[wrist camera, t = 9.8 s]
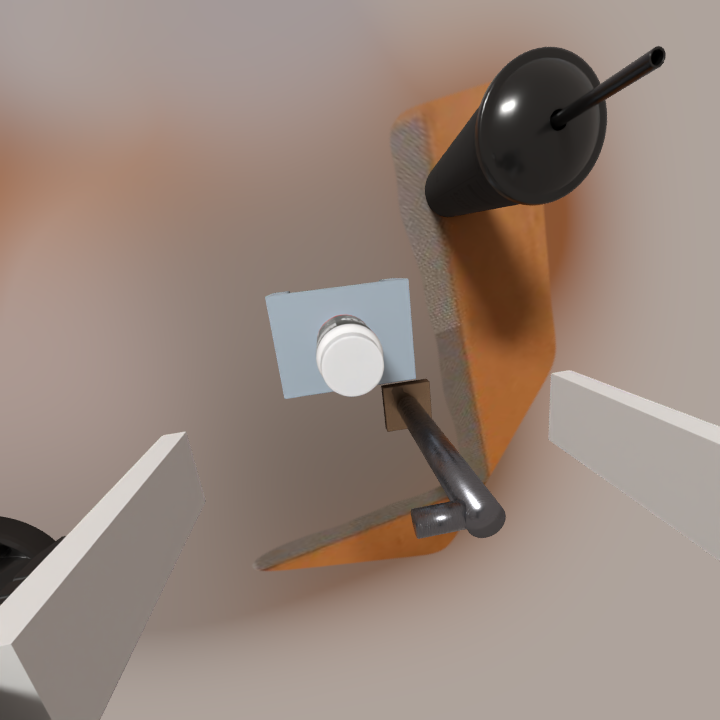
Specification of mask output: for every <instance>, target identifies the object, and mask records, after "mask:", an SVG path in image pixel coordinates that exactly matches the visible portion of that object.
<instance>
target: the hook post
mask: <svg viewBox="0 0 720 720" xmlns="http://www.w3.org/2000/svg"><path fill="white" fill-rule="evenodd" d="M381 387H382V396H383V406H384V414H385V425H386V429H387V431H388V432H390V431H395V430H402V429H409V431H410V433H411V434H412V436H413V438H414V440H415V441H416V443H417V445H418V446H419V448H420V450H421V452H422V453H423V455H424V457H425V459H426V460H427V462H428V463H429V465H430V467H431V469H432V470H433V472H434V474H435V476H436V477H437V479H438V481H439V482H440V484H441V486H442V487H443V489H444V491H445V493H446V494H447V496H448V498H449V499H450V501H451V502H446V503H440V504H435V505H430V506H425V507H419V508H414V509H411V517H412V523H413V527H414V531H415V534H416V536H417V538H418V539H419V538H424V537H429V536H434V535H439V534H445V533H450V532H455V531H460V530H464V529H467V530H468V531H469V533H470V534H471V535H473V536H475V537H478V538H486V537H489V536H492V535H494V534H495V533H497V532H498V531H499V530H500V529H501V528H502V526H503V525H504V522H505V517H506V516H505V511H504V510H503V508H502V507H501V505H500V504H499V503H498V502H497V500H496V499H495V498H494V497H493V495H492V494H491V493H490V492H489V490H488V489H487V488H486V486H485V485H484V484H483V483H482V481H481V480H480V479H479V478H478V476H477V475H476V474H475V473H474V471H473V470H472V469H471V468H470V466H469V465H468V464H467V462H466V461H465V460H464V459H463V457H462V456H461V455H460V454H459V452H458V451H457V450H456V449H455V447H454V446H453V445H452V444H451V442H450V441H449V440H448V438H447V437H446V436H445V435H444V433H443V432H442V431H441V430H440V428H439V427H438V426H437V425H436V423H435V422H434V421H433V420H432V415H431V400H430V383H429V381H428V380H427V379H421V380H416V381H408V382H402V383H395V384H389V385H383V386H381Z"/></svg>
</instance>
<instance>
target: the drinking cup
mask: <svg viewBox="0 0 720 720" xmlns="http://www.w3.org/2000/svg"><path fill="white" fill-rule="evenodd" d="M664 60H665V51H664V49H663V48H662V47H660V46H658V47H655V48H653V49H652V50H650V51H649V52H647V53H646V54H644V55H643V56H641V57H640V58H638V59H637V60H635V61H634V62H632V63H631V64H629V65H628V66H626V67H625V68H623V69H622V70H621V71H619V72H618V73H616V74H615V75H613V76H612V77H610V78H609V79H607V80H606V81H604V82H603V83H601V84H600V82H599V80H598V78H597V76H596V74H595V73H594V71H593V70H592V68H591V67H590V66H589V65H588V64H587V63H586V62H585V61H584V60H583V59H582V58H580V57H579V56H578V55H576V54H574V53H573V52H570V51H568V50H565V49H562V48H557V47H543V48H537V49H533V50H530V51H528V52H525V53H523V54H521V55H519V56H518V57H516V58H515V59H513V60H512V61H511V62H509V63H508V64H507V65H506V66H505V67H504V68H503V69H502V70H501V71H500V72H499V73H498V74H497V76H496V77H495V78H494V79H493V81H492V82H491V84H490V85H489V87H488V89H487V91H486V92H485V94H484V97H483V99H482V101H481V104H480V106H479V108H478V109H477V110H476V112H475V113H474V114H473V116H472V117H471V118H470V120H469V121H468V122H467V124H466V125H465V127H464V128H463V129H462V131H461V132H460V133H459V135H458V136H457V137H456V139H455V140H454V141H453V143H452V144H451V145H450V147H449V148H448V149H447V151H446V152H445V154H444V155H443V156H442V158H441V159H440V160H439V162H438V163H437V164H436V166H435V167H434V168H433V170H432V171H431V172H430V174H429V176H428V178H427V181H426V185H425V195H426V199H427V202H428V204H429V206H430V207H431V209H432V210H433V211H434V212H435V213H437V214H439V215H441V216H444V217H453V216H458V215H464V214H469V213H474V212H480V211H485V210H491V209H496V208H501V207H507V206H512V205H518V204H522V205H542V204H546V203H549V202H553V201H556V200H558V199H560V198H562V197H564V196H566V195H567V194H569V193H570V192H572V191H573V190H574V189H575V188H576V187H577V186H578V185H580V184H581V182H582V181H583V180H584V179H585V178H586V177H587V175H588V174H589V172H590V171H591V170H592V168H593V166H594V165H595V163H596V161H597V159H598V157H599V154H600V152H601V149H602V146H603V142H604V139H605V133H606V125H607V108H606V101H605V100H606V99H607V98H609V97H611V96H612V95H614V94H616V93H617V92H619V91H621V90H622V89H624V88H626V87H627V86H629V85H630V84H632V83H634V82H635V81H637V80H639V79H640V78H642V77H644V76H645V75H647V74H649V73H650V72H652V71H654V70H655V69H657V68H659V67H660V66H661V65H662V64H663V63H664Z"/></svg>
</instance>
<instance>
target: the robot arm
mask: <svg viewBox="0 0 720 720" xmlns="http://www.w3.org/2000/svg"><path fill="white" fill-rule="evenodd" d="M549 440H550V441H552V442H553V443H554V444H556V445H557V446H558V447H560V448H561V449H563V450H564V451H565V452H567V453H568V454H570V455H571V456H572V457H574V458H575V459H577V460H578V461H579V462H581V463H582V464H584V465H585V466H586V467H588V468H589V469H591V470H592V471H594V472H595V473H596V474H598V475H599V476H601V477H602V478H603V479H605V480H606V481H608V482H609V483H611V484H612V485H613V486H615V487H616V488H617V489H619V490H620V491H622V492H623V493H625V494H626V495H627V496H629V497H630V498H631V499H633V500H634V501H636V502H637V503H639V504H640V505H641V506H643V507H644V508H646V509H647V510H648V511H650V512H651V513H653V514H654V515H655V516H657V517H658V518H660V519H661V520H663V521H664V522H665V523H667V524H668V525H670V526H671V527H672V528H674V529H675V530H676V531H678V532H679V533H681V534H682V535H684V536H685V537H687V538H688V539H689V540H691V541H692V542H693V543H695V544H696V545H698V546H699V547H700V548H702V549H703V550H705V551H706V552H707V553H709V554H710V555H712V556H713V557H715V558H716V559H717V560H719V561H720V427H719V426H717V425H714V424H711V423H708V422H706V421H703V420H700V419H698V418H695V417H693V416H690V415H687V414H685V413H682V412H679V411H677V410H674V409H672V408H669V407H666V406H664V405H661V404H658V403H656V402H653V401H650V400H648V399H645V398H642V397H640V396H637V395H634V394H632V393H629V392H627V391H624V390H621V389H619V388H616V387H613V386H611V385H608V384H605V383H602V382H600V381H597V380H595V379H592V378H589V377H587V376H584V375H582V374H579V373H576V372H573V371H571V370H568V371H562V372H556V373H551V390H550V416H549ZM205 502H206V500H205V497H204V493H203V490H202V486H201V483H200V479H199V475H198V472H197V468H196V465H195V461H194V458H193V454H192V451H191V447H190V444H189V440H188V437H187V433H186V432H181V433H175V434H169V435H163V436H162V437H161V438H159V440H158V441H157V442H156V443H155V444H154V445H153V446H152V447H151V448H150V449H149V450H148V451H147V452H146V453H145V454H144V455H143V456H142V457H141V458H140V459H139V461H138V462H137V463H136V464H135V465H134V466H133V467H132V468H131V469H130V470H129V471H128V472H127V473H126V474H125V475H124V476H123V477H122V478H121V479H120V480H119V481H118V483H117V484H116V485H115V486H114V487H113V488H112V489H111V490H110V491H109V492H108V493H107V494H106V495H105V496H104V497H103V498H102V499H101V500H100V501H99V502H98V504H97V505H96V506H95V507H94V508H93V509H92V510H91V511H90V512H89V513H88V514H87V515H86V516H85V517H84V518H83V519H82V520H81V521H80V522H79V524H78V525H77V526H76V527H75V528H74V529H73V530H72V531H71V532H70V533H69V534H68V535H67V536H64V537H61V538H60V539H58V540H57V541H55V540H53V538H51V537H50V536H49V535H47V534H46V533H44V532H43V531H41V530H39V529H37V528H36V527H33V526H31V525H29V524H27V523H24V522H21V521H18V520H15V519H11V518H6V517H0V720H100V718H101V716H102V714H103V712H104V710H105V708H106V706H107V704H108V702H109V699H110V697H111V696H112V693H113V691H114V689H115V687H116V685H117V683H118V680H119V679H120V677H121V675H122V673H123V671H124V669H125V667H126V665H127V662H128V661H129V658H130V656H131V654H132V652H133V650H134V648H135V646H136V644H137V642H138V640H139V638H140V636H141V633H142V632H143V630H144V627H145V625H146V623H147V621H148V619H149V617H150V615H151V613H152V611H153V609H154V607H155V605H156V603H157V601H158V599H159V597H160V595H161V592H162V590H163V588H164V586H165V584H166V582H167V580H168V578H169V576H170V574H171V572H172V570H173V568H174V566H175V564H176V561H177V560H178V558H179V555H180V553H181V551H182V549H183V547H184V545H185V543H186V541H187V539H188V537H189V535H190V533H191V531H192V529H193V526H194V525H195V522H196V520H197V518H198V516H199V514H200V512H201V510H202V508H203V506H204V504H205Z"/></svg>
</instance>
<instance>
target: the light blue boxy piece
mask: <svg viewBox="0 0 720 720" xmlns="http://www.w3.org/2000/svg"><path fill="white" fill-rule="evenodd" d="M265 298H266V304H267V308H268V314H269V319H270V325H271V329H272V335H273V341H274V346H275V351H276V356H277V362H278V367H279V372H280V377H281V382H282V387H283V393H284V398H285V399H288V398H295V397H301V396H307V395H314V394H321V393H327V392H334V391H333V390H332V389H331V388H330V387H329V386H328V385H327V384H326V382H325V381H324V378H323V377H322V375H321V374H320V372H319V369H318V366H317V362H316V347H317V335H318V332H319V330H320V328H321V327H322V325H323V324H324V323H325V322H326V321H327V320H329V319H330V318H332V317H334V316H337V315H342V314H347V315H352V316H355V317H357V318H359V319H361V320H362V321H363V322H364V323H365V324H366V325H367V326H368V327H369V328H370V329H371V330H372V331H373V332H374V333H375V335H376V336H377V337H378V339H379V341H380V343H381V345H382V348H383V356H384V357H383V359H384V371H383V375H382V377H381V380H380V381H379V383H378V384H377V385H379V384H385V383H392V382H398V381H404V380H411V379H416V373H415V360H414V347H413V334H412V321H411V309H410V308H411V307H410V294H409V282H408V279H404V278H391V279H383V280H379V282H373V283H365V284H358V285H350V286H341V287H333V288H325V289H317V290H310V291H302V292H294V293H290V292H289V291H287V292H280V293H273V294H270V295H268V296H266V297H265Z"/></svg>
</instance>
